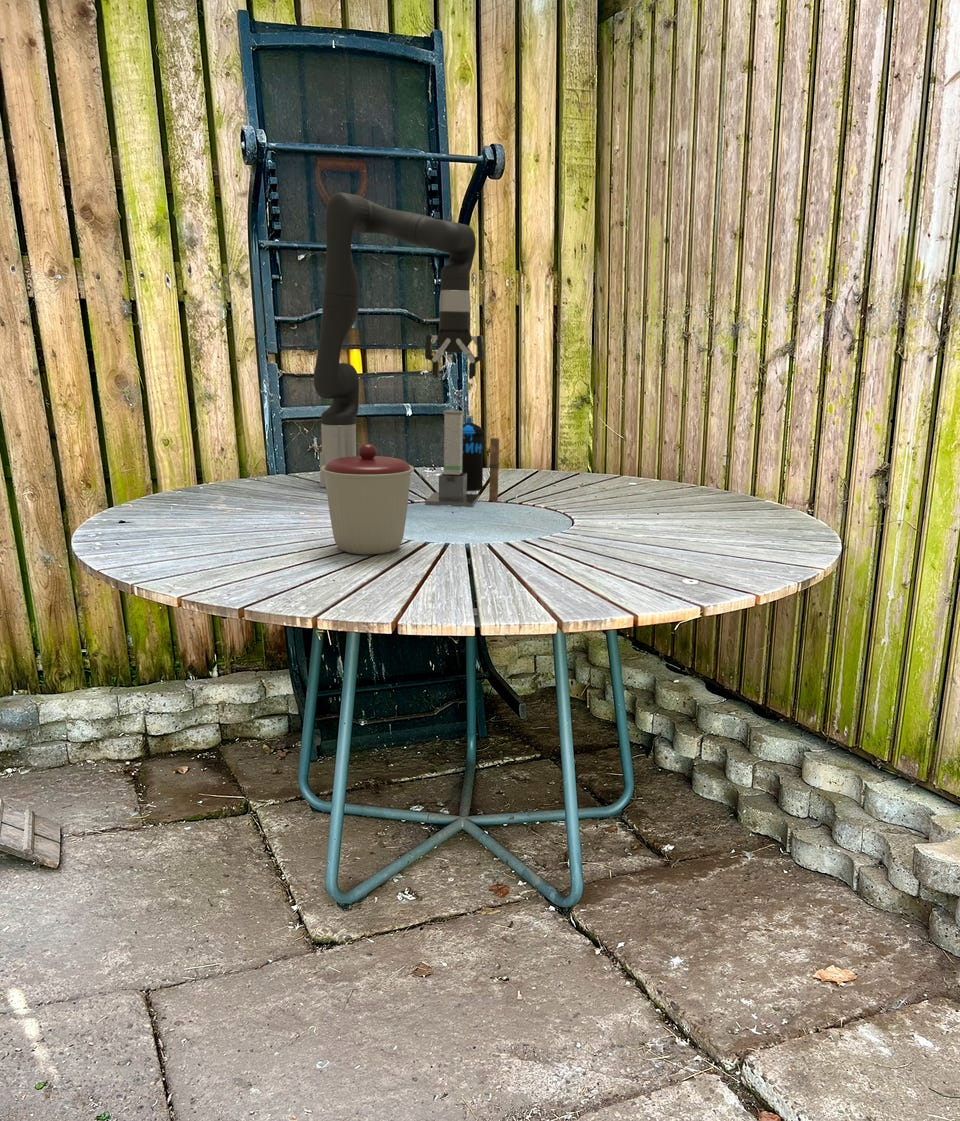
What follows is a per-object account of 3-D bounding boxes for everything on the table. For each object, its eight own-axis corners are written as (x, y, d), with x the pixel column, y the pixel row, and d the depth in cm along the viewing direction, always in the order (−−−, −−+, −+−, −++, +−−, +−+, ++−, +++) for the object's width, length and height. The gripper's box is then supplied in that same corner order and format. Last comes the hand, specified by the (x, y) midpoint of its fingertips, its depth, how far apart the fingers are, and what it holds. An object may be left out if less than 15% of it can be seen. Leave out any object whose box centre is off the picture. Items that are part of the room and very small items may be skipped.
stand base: (425, 504, 224) (425, 477, 222) (434, 496, 235) (434, 469, 233) (472, 507, 222) (472, 479, 220) (479, 498, 234) (479, 471, 232)
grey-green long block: (442, 474, 225) (443, 411, 221) (445, 471, 229) (446, 410, 225) (460, 475, 224) (461, 412, 220) (463, 472, 229) (464, 410, 225)
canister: (305, 547, 179) (301, 442, 174) (376, 534, 191) (375, 436, 186) (360, 565, 167) (358, 452, 161) (432, 550, 179) (433, 445, 174)
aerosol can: (454, 485, 252) (455, 413, 247) (483, 486, 252) (485, 414, 247) (452, 490, 244) (453, 416, 239) (482, 491, 244) (484, 417, 239)
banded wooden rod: (488, 500, 230) (490, 438, 226) (489, 499, 232) (491, 437, 228) (497, 501, 230) (498, 439, 226) (498, 499, 232) (499, 438, 228)
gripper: (423, 309, 214) (422, 378, 218) (481, 310, 212) (480, 380, 216) (429, 309, 221) (428, 376, 225) (486, 311, 219) (484, 378, 224)
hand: (454, 378), depth 221 cm, fingers open, 8 cm apart
